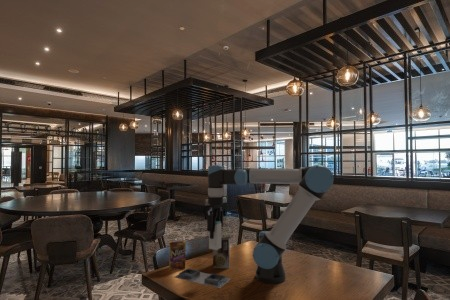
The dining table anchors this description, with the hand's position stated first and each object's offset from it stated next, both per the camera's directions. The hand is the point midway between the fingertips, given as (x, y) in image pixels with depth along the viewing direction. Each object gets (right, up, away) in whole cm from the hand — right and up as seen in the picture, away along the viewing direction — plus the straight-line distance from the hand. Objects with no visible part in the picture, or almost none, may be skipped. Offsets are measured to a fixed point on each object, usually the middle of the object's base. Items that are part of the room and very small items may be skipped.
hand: (215, 243), depth 139 cm
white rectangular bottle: (0, -2, 0) cm, 2 cm away
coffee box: (+3, -20, +19) cm, 27 cm away
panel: (-7, -19, +2) cm, 20 cm away
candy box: (-21, -19, +16) cm, 33 cm away
